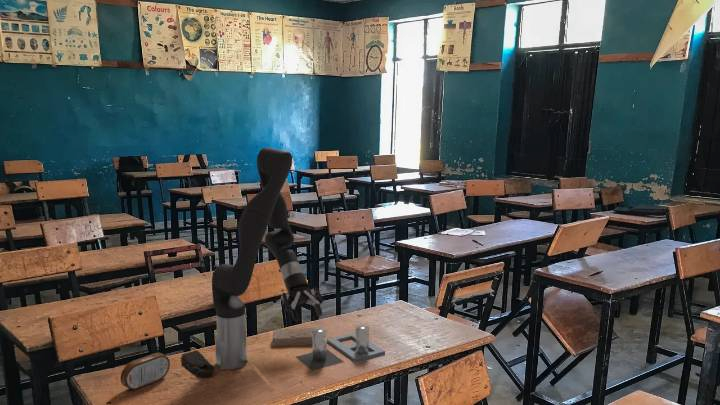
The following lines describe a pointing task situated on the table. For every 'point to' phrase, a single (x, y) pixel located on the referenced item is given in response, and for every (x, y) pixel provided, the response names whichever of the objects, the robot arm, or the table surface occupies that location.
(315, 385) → the table surface
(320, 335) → the cylinder
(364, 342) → the cylinder
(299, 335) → the brick
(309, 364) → the mat
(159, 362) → the tin
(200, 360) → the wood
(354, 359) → the grey slotted holder
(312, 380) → the table surface
